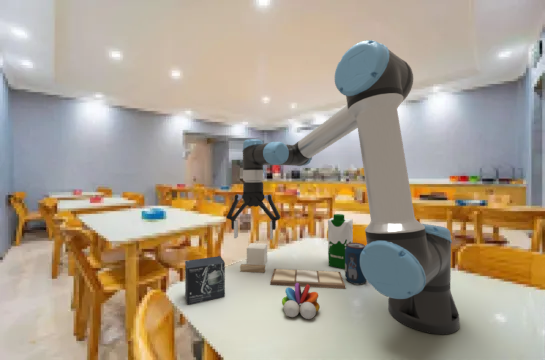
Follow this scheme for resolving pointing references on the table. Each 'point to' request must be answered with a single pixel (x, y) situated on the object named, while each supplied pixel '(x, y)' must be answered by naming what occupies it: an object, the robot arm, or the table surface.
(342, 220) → the milk carton
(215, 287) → the box
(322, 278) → the board
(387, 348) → the table surface
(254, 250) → the white cube
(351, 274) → the soda can
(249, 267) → the stick
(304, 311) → the rainbow petal fan toy
